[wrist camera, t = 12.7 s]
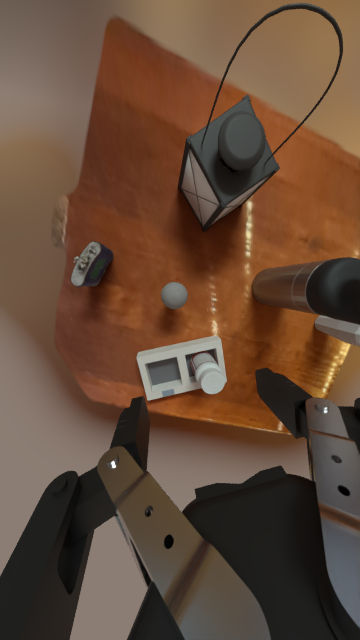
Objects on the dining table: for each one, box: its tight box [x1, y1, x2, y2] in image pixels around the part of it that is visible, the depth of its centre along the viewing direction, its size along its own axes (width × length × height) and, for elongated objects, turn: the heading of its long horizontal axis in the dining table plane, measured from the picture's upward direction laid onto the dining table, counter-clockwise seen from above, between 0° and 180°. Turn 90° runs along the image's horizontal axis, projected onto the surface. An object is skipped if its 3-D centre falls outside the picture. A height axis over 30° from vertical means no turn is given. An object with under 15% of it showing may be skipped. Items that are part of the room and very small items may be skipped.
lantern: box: [178, 3, 343, 231], centre depth 26 cm, size 11×11×28 cm
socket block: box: [137, 335, 227, 401], centre depth 46 cm, size 21×12×4 cm, turn 101°
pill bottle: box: [190, 351, 225, 394], centre depth 42 cm, size 6×6×11 cm
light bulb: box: [161, 282, 188, 309], centre depth 39 cm, size 6×6×10 cm
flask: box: [71, 241, 114, 287], centre depth 35 cm, size 9×3×11 cm, turn 148°
